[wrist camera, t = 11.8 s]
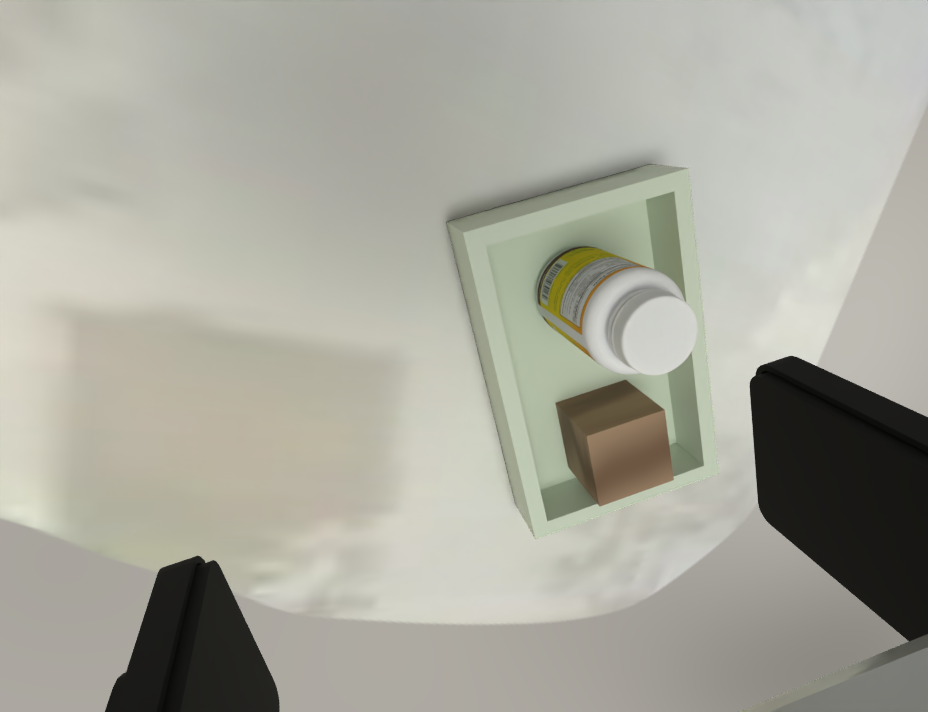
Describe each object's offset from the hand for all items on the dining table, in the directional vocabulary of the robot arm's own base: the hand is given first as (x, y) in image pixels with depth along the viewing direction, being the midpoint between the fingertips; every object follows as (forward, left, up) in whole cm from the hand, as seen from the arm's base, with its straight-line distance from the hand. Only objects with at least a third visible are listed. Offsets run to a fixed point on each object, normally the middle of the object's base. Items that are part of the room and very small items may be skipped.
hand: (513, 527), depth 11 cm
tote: (+10, +12, -28) cm, 32 cm away
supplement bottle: (+6, +12, -28) cm, 31 cm away
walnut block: (+16, +12, -28) cm, 34 cm away
